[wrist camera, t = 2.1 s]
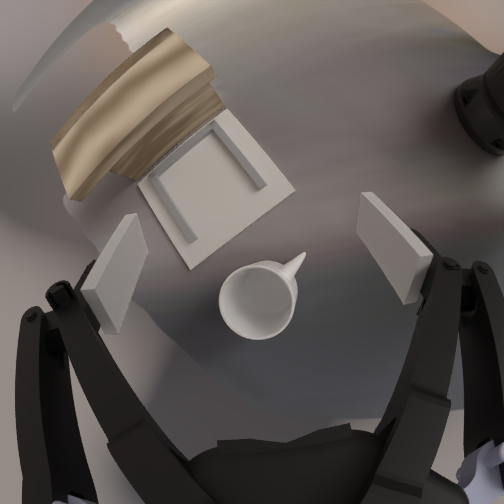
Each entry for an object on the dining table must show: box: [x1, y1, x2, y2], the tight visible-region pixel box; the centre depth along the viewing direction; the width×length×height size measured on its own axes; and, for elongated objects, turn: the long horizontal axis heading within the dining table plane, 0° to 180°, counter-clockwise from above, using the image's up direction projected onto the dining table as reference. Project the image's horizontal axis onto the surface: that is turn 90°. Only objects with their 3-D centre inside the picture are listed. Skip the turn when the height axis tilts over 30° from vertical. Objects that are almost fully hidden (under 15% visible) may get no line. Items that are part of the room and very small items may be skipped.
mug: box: [219, 252, 306, 340], centre depth 36 cm, size 9×12×11 cm
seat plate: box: [137, 109, 296, 270], centre depth 42 cm, size 18×20×2 cm
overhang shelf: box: [50, 28, 224, 201], centre depth 34 cm, size 10×20×20 cm, turn 126°
